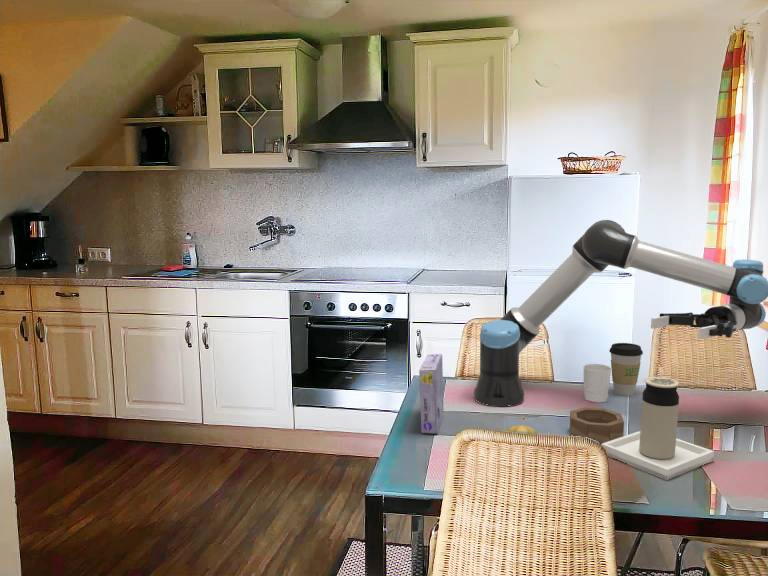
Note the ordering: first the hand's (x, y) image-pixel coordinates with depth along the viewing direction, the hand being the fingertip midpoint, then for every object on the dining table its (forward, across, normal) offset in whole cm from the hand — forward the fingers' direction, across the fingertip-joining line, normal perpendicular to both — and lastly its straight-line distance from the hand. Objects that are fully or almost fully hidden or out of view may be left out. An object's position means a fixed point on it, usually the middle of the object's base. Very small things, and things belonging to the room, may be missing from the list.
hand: (675, 328), depth 172 cm
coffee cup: (-18, +28, -29) cm, 44 cm away
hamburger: (+47, +5, -29) cm, 56 cm away
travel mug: (+16, -8, -27) cm, 33 cm away
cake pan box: (+46, +41, -30) cm, 69 cm away
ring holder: (+16, +10, -28) cm, 34 cm away
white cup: (-6, +29, -29) cm, 41 cm away
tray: (+16, -8, -28) cm, 33 cm away
